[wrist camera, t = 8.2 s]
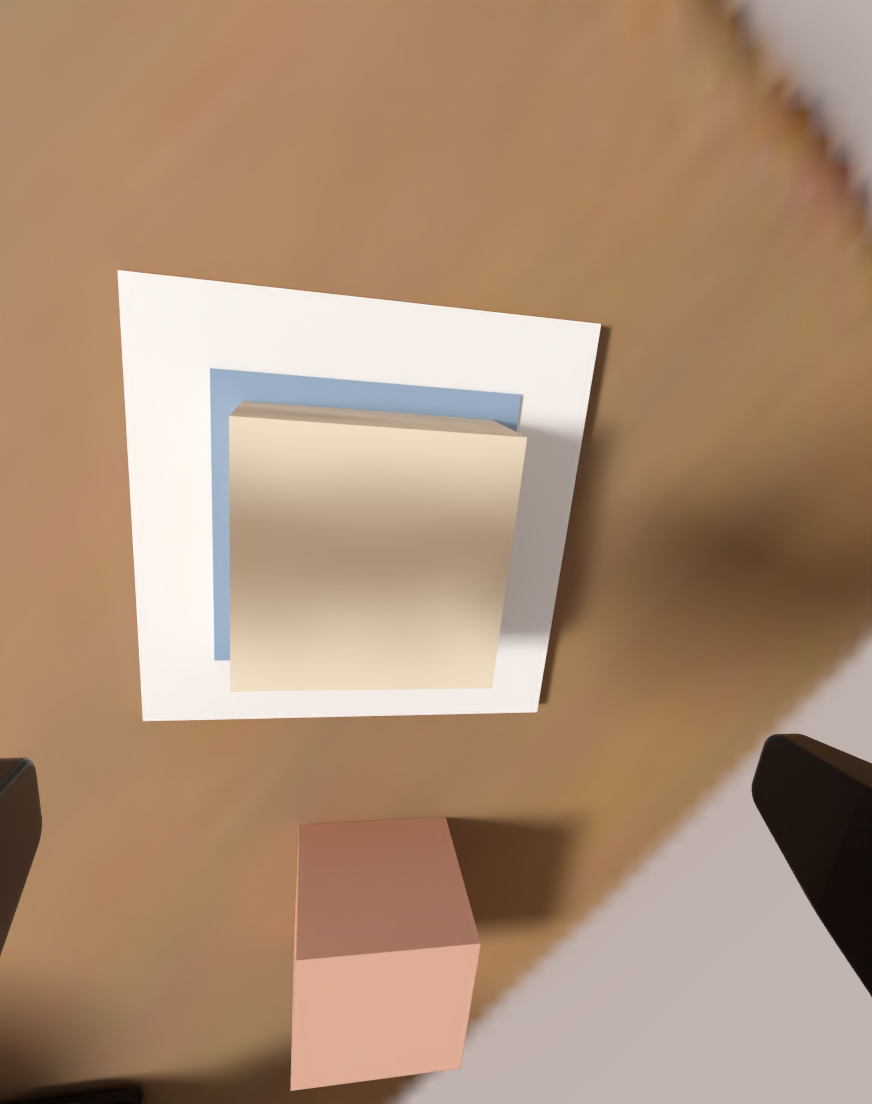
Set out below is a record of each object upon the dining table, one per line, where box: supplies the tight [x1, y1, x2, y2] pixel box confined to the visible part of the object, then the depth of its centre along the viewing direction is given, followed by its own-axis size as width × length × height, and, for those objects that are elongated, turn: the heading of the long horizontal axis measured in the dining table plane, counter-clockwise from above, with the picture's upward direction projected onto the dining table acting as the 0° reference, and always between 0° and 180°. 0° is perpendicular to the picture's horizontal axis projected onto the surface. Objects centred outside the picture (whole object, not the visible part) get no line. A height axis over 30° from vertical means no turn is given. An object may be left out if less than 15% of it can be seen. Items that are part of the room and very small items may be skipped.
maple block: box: [229, 401, 527, 692], centre depth 16 cm, size 6×6×3 cm
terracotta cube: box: [290, 817, 481, 1091], centre depth 20 cm, size 5×5×5 cm
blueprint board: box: [118, 270, 601, 721], centre depth 18 cm, size 12×12×1 cm
